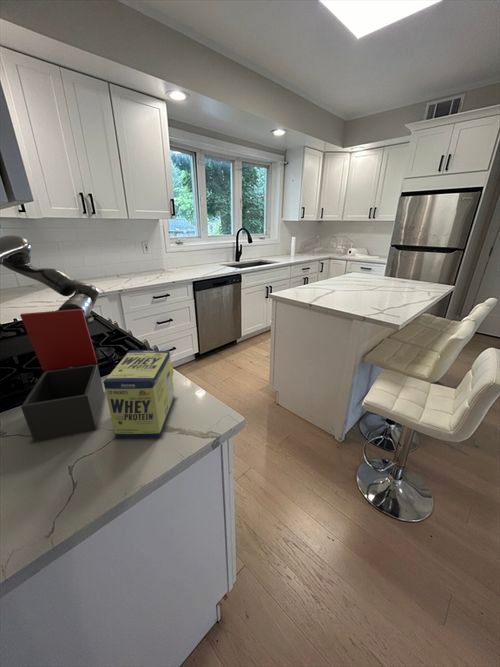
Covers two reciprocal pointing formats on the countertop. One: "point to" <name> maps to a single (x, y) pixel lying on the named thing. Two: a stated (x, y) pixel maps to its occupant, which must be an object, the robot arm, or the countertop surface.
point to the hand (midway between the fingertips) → (60, 332)
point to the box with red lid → (64, 402)
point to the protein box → (140, 394)
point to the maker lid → (60, 338)
